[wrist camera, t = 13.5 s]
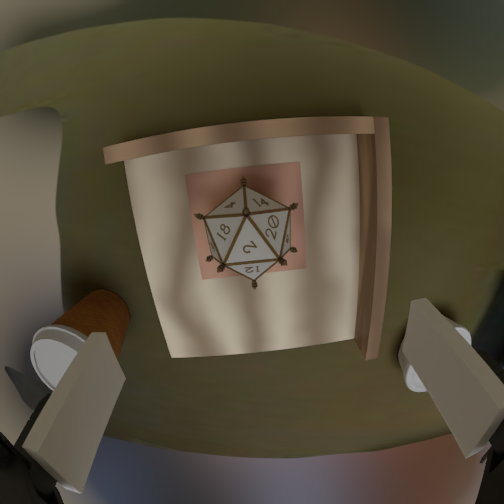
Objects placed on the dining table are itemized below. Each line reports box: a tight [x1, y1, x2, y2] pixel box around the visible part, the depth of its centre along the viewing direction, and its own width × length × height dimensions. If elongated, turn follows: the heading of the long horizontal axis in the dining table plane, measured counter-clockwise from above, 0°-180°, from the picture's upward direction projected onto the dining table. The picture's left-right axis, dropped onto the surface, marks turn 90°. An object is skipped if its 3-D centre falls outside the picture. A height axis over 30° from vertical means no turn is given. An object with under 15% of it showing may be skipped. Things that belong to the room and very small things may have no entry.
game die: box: [194, 176, 299, 290], centre depth 26 cm, size 9×8×10 cm
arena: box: [103, 116, 392, 360], centre depth 29 cm, size 24×26×5 cm
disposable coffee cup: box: [30, 289, 130, 391], centre depth 28 cm, size 10×10×12 cm
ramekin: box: [398, 317, 471, 392], centre depth 35 cm, size 11×11×5 cm
